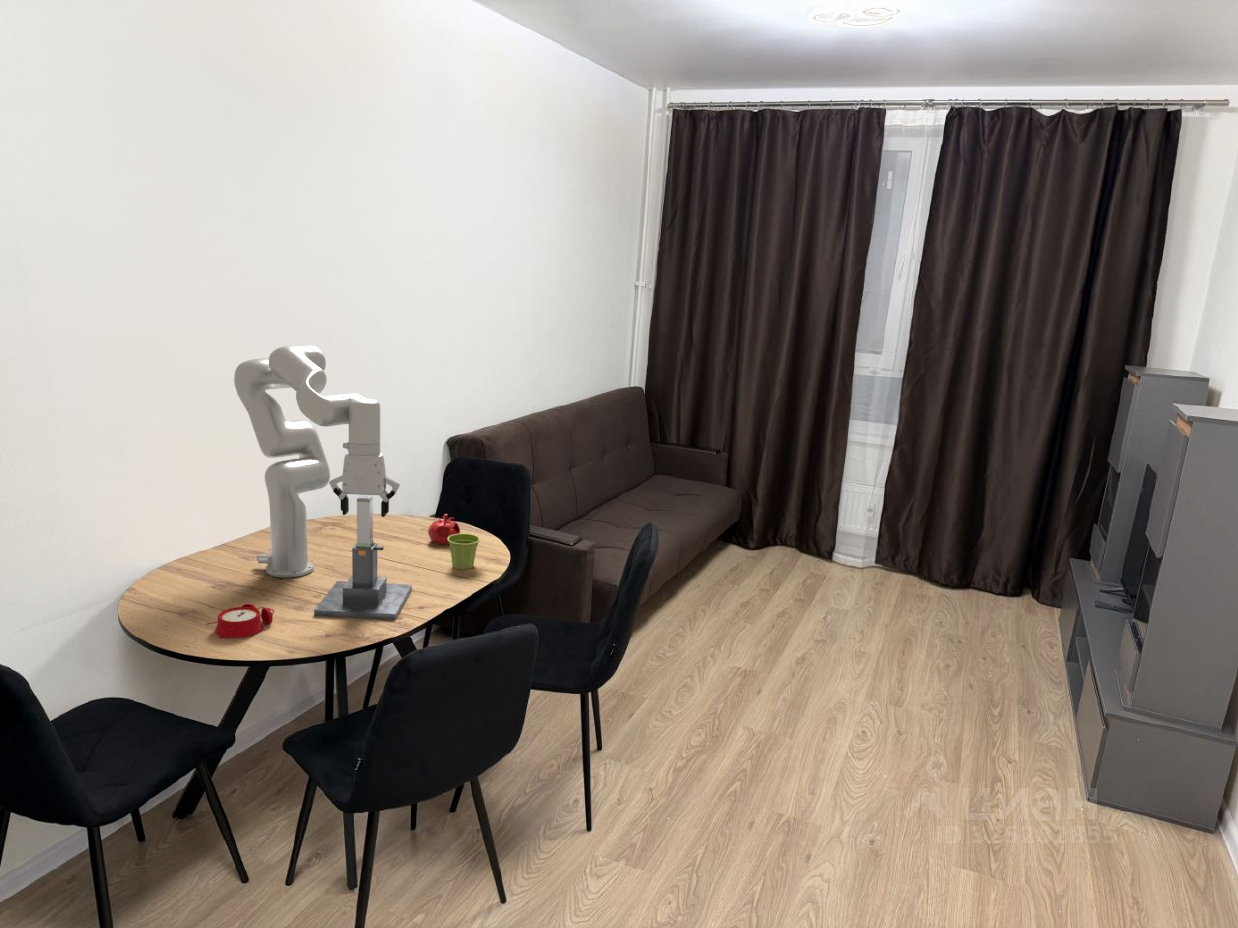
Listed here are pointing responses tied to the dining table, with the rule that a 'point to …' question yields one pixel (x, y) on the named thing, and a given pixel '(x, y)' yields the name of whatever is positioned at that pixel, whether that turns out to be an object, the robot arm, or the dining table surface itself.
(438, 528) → the pomegranate
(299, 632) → the dining table surface
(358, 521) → the steel post
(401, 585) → the charcoal stand
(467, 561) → the plant pot
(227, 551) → the dining table surface
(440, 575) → the dining table surface
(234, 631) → the alarm clock
